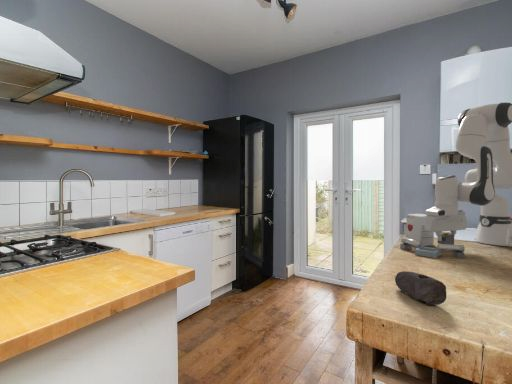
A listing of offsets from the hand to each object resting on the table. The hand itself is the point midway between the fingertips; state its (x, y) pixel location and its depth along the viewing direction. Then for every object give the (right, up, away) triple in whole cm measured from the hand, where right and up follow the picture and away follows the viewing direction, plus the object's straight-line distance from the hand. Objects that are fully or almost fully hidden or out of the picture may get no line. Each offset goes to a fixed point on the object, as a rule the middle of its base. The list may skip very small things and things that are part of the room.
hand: (445, 240), depth 128 cm
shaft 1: (-16, -5, 0) cm, 17 cm away
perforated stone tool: (-44, -7, -52) cm, 68 cm away
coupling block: (0, -2, 0) cm, 2 cm away
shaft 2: (-5, -5, -10) cm, 13 cm away
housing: (-13, -5, -8) cm, 16 cm away
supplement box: (-5, -4, +13) cm, 14 cm away
